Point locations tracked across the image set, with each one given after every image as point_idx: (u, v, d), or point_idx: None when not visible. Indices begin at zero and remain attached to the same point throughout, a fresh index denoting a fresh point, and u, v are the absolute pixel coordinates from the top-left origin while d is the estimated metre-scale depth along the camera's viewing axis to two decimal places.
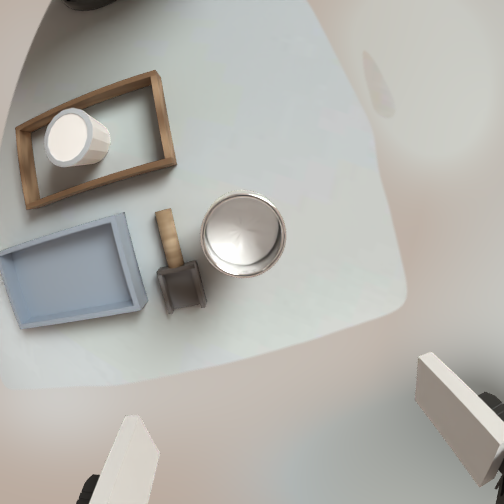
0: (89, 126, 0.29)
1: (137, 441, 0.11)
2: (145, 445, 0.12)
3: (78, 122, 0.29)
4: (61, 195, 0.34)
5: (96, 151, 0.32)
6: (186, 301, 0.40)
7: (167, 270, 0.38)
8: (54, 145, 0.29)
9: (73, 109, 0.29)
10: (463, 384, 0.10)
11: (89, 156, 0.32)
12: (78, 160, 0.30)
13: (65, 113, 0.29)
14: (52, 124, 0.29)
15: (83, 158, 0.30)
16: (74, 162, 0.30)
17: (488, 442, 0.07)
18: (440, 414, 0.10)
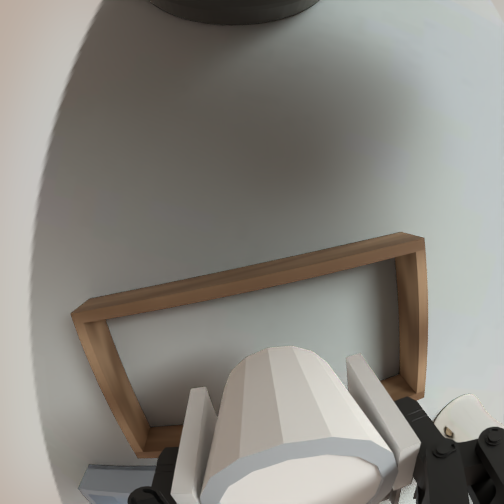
0: (390, 475, 0.08)
1: (206, 411, 0.13)
2: (211, 416, 0.14)
3: (352, 471, 0.08)
4: None
5: None
6: None
7: None
8: None
9: (334, 442, 0.08)
10: (382, 386, 0.11)
11: None
12: None
13: (302, 455, 0.07)
14: (233, 477, 0.08)
15: None
16: None
17: (393, 446, 0.08)
18: None
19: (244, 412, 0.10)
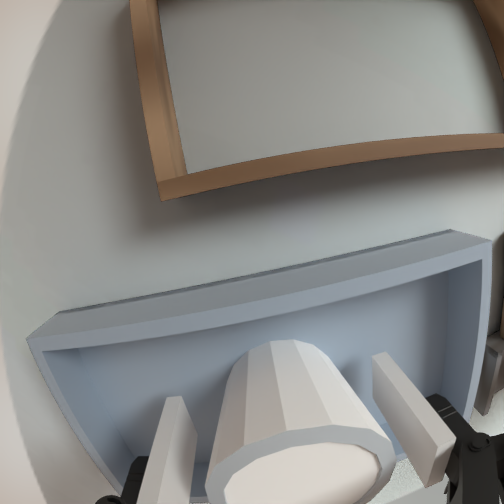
0: (388, 464, 0.09)
1: (180, 421, 0.13)
2: (187, 425, 0.13)
3: (352, 460, 0.08)
4: (335, 161, 0.11)
5: None
6: (496, 386, 0.17)
7: None
8: (251, 503, 0.09)
9: (335, 430, 0.08)
10: (411, 384, 0.11)
11: None
12: None
13: (304, 442, 0.08)
14: (237, 464, 0.08)
15: None
16: None
17: (428, 443, 0.08)
18: (391, 412, 0.12)
19: (248, 402, 0.10)
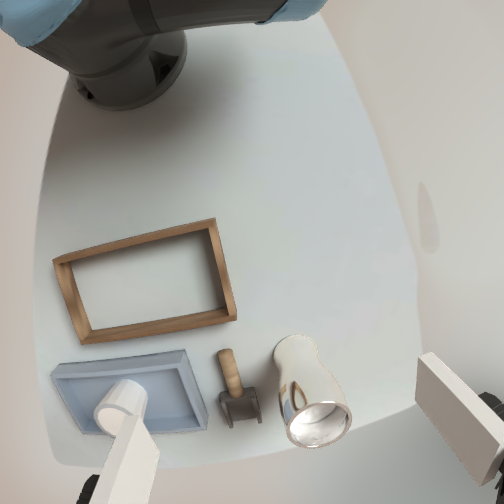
0: None
1: (137, 441, 0.11)
2: (145, 445, 0.12)
3: (124, 416, 0.34)
4: (120, 338, 0.37)
5: None
6: (243, 416, 0.43)
7: (230, 399, 0.40)
8: (105, 424, 0.35)
9: (115, 405, 0.34)
10: (463, 384, 0.10)
11: None
12: None
13: (109, 407, 0.34)
14: (98, 410, 0.34)
15: None
16: None
17: (488, 442, 0.07)
18: (440, 414, 0.10)
19: (105, 396, 0.36)
